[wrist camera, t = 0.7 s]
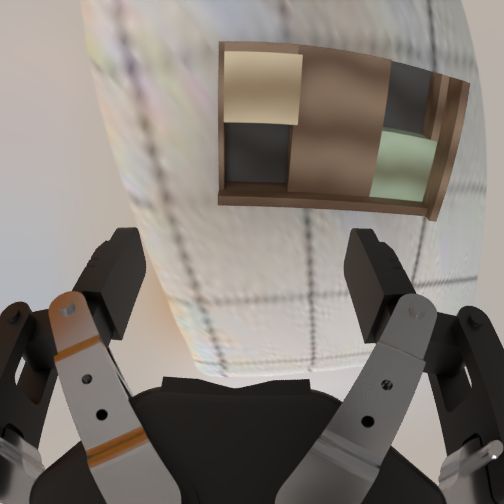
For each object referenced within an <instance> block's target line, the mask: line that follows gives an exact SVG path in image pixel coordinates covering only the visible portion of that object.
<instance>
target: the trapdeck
mask: <svg viewBox="0 0 504 504" xmlns="http://www.w3.org/2000/svg"><path fill="white" fill-rule="evenodd" d="M224 51H246V52H272V53H287V54H299V55H303V59H302V75H301V89H300V103H299V115H298V125H290V124H272V123H243V122H224ZM469 87H470V83H468V82H465V81H462V80H459V79H455V78H452V77H448V76H445V75H442V74H438V73H434V72H430V71H427V70H424V69H420V68H417V67H413V66H410V65H406V64H402V63H398V62H394V61H392V60H389V59H385V58H380V57H376V56H371V55H366V54H361V53H355V52H350V51H344V50H337V49H331V48H323V47H315V46H307V45H297V44H285V43H269V42H219V82H218V143H219V193H218V205H229V206H267V207H294V208H315V209H334V210H351V211H367V212H381V213H394V214H406V215H418V216H426V217H427V218H428V220H429V221H437V218H438V215H439V212H440V209H441V205H442V202H443V199H444V196H445V193H446V189H447V186H448V183H449V179H450V175H451V172H452V168H453V164H454V161H455V157H456V153H457V149H458V144H459V140H460V136H461V131H462V126H463V121H464V116H465V111H466V106H467V100H468V94H469Z"/></svg>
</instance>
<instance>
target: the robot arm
mask: <svg viewBox="0 0 504 504" xmlns="http://www.w3.org/2000/svg"><path fill="white" fill-rule="evenodd" d="M145 273H146V260H145V256H144V252H143V247H142V243H141V239H140V234H139V231H138V229H137V228H135V227H132V228H117V229H116V231H115V232H114V234H113V236H112V237H111V239H110V241H105V242H104V243H103V244H101V245H100V246H99V247H98V248H97V249H96V250H95V252H94V253H93V255H92V257H91V260H89V262H88V263H87V267H85V269H84V270H83V272H82V274H81V275H80V277H79V279H78V281H77V283H76V284H75V286H74V288H73V290H72V291H70V292H66V293H63V294H61V295H59V296H58V297H57V298H56V299H54V301H52V303H51V304H50V306H49V309H45V310H40V311H35V312H32V311H31V309H30V307H29V306H28V304H27V303H24V302H15V303H13V304H11V305H9V306H8V307H7V308H6V309H5V310H4V311H3V312H2V313H1V315H0V503H3V504H504V349H503V347H502V344H501V342H500V340H499V338H498V336H497V334H496V332H495V329H494V327H493V325H492V323H491V322H490V319H489V318H488V316H487V315H486V314H485V313H484V312H483V311H482V310H480V309H478V308H476V307H474V306H464V307H462V308H461V309H460V310H459V312H458V314H457V316H454V315H449V314H444V313H440V312H437V310H436V308H435V306H434V305H433V303H432V302H431V301H430V300H429V299H427V298H426V297H424V296H421V295H418V294H416V292H415V290H414V288H413V286H412V284H411V282H410V280H409V278H408V276H407V274H406V272H405V270H404V269H403V267H402V265H401V263H400V261H399V259H398V257H397V255H396V254H395V252H394V250H393V249H392V248H390V247H389V246H388V245H387V244H386V243H385V242H379V240H378V238H377V237H376V235H375V233H374V231H373V230H372V229H358V228H353V229H352V230H351V233H350V237H349V242H348V247H347V251H346V256H345V261H344V276H345V280H346V283H347V286H348V289H349V292H350V295H351V299H352V302H353V305H354V308H355V312H356V315H357V318H358V322H359V325H360V329H361V332H362V336H363V339H364V343H365V344H367V343H376V346H375V348H374V349H373V351H372V353H371V355H370V357H369V359H368V360H367V362H366V364H365V366H364V367H363V369H362V371H361V373H360V374H359V376H358V378H357V380H356V381H355V383H354V385H353V386H352V388H351V390H350V391H349V393H348V395H347V396H346V398H345V399H344V401H343V402H342V401H340V400H338V399H337V398H335V397H333V396H331V395H329V394H326V393H324V392H320V391H317V390H312V389H311V388H310V380H309V379H302V380H273V381H268V382H264V383H260V384H255V385H251V386H246V387H242V388H230V387H226V386H222V385H218V384H214V383H210V382H207V381H204V380H200V379H191V378H176V377H163V381H162V386H161V387H156V388H152V389H149V390H146V391H143V392H141V393H139V394H137V395H135V396H133V394H132V392H131V391H130V389H129V387H128V385H127V383H126V381H125V379H124V377H123V375H122V373H121V371H120V369H119V367H118V365H117V363H116V361H115V359H114V356H113V354H112V352H111V350H110V348H109V343H110V341H111V339H113V340H122V339H123V335H124V332H125V329H126V327H127V324H128V321H129V318H130V315H131V312H132V309H133V307H134V303H135V301H136V298H137V295H138V293H139V290H140V287H141V284H142V282H143V279H144V277H145ZM21 357H23V359H24V360H25V361H26V362H25V365H24V367H23V370H22V373H21V375H20V378H19V381H18V383H17V385H16V383H15V372H16V370H17V367H18V365H19V362H20V360H21ZM465 366H466V367H467V369H468V373H469V376H470V379H471V383H472V387H471V386H470V383H469V380H468V377H467V374H466V372H465V369H464V367H465ZM422 372H425V373H428V377H429V380H430V384H431V388H432V391H433V395H434V399H435V403H436V407H437V411H438V414H439V419H440V424H441V428H442V433H443V437H444V442H445V447H446V452H447V458H446V459H445V460H444V462H443V464H442V467H441V471H440V476H439V483H440V484H439V487H438V486H437V485H436V484H435V483H434V482H433V481H432V480H431V479H429V478H428V477H427V476H426V475H425V474H423V473H422V472H421V471H420V470H419V469H418V468H416V467H415V466H414V465H413V464H412V463H410V462H409V461H408V460H407V459H406V458H405V457H404V456H403V455H401V454H400V453H399V452H398V451H397V450H396V449H395V448H393V447H392V446H391V444H392V441H393V440H394V438H395V436H396V434H397V431H398V429H399V427H400V425H401V423H402V421H403V419H404V416H405V414H406V412H407V410H408V407H409V405H410V403H411V400H412V398H413V395H414V393H415V390H416V388H417V385H418V383H419V380H420V377H421V375H422ZM58 375H59V379H60V382H61V385H62V389H63V392H64V395H65V398H66V401H67V404H68V407H69V410H70V412H71V415H72V418H73V421H74V423H75V426H76V428H77V431H78V434H79V436H80V439H81V441H80V442H78V443H77V444H76V445H75V446H74V447H72V448H71V449H70V450H69V451H68V452H66V453H65V454H64V455H63V456H62V457H60V458H59V459H58V460H57V461H56V462H54V463H53V464H52V465H51V466H50V467H48V468H47V469H46V470H45V467H44V465H43V464H42V460H41V455H40V453H39V451H38V446H39V442H40V437H41V433H42V429H43V425H44V421H45V417H46V414H47V410H48V407H49V403H50V399H51V396H52V393H53V389H54V386H55V383H56V380H57V376H58Z"/></svg>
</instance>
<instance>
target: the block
mask: <svg viewBox="0 0 504 504" xmlns="http://www.w3.org/2000/svg"><path fill="white" fill-rule="evenodd" d="M302 59H303V55H299V54H287V53H272V52H246V51H224V122H243V123H272V124H290V125H298V115H299V103H300V89H301V75H302Z"/></svg>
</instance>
